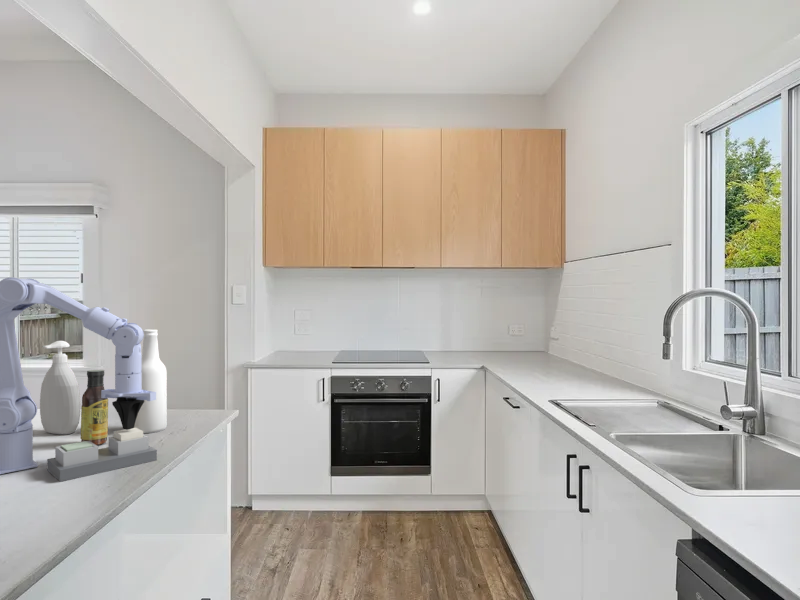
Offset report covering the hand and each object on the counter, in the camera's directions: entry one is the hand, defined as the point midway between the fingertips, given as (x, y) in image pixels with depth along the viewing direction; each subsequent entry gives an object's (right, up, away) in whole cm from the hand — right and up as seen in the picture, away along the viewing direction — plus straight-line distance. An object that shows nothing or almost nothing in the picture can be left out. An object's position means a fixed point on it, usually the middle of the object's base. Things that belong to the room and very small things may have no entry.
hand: (128, 428), depth 124 cm
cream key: (0, -2, 0) cm, 2 cm away
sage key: (-8, -3, -8) cm, 12 cm away
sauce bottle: (-16, -8, +13) cm, 22 cm away
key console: (-4, -8, -4) cm, 9 cm away
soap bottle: (-34, -8, +24) cm, 42 cm away
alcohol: (-8, -8, +28) cm, 30 cm away
